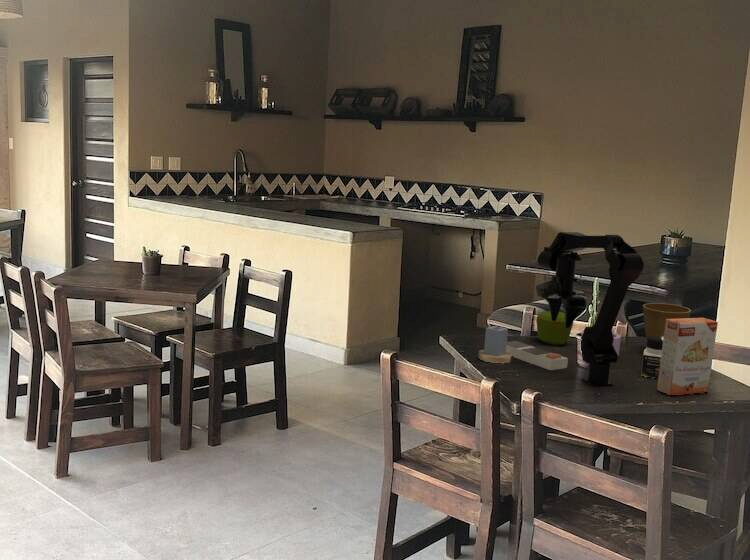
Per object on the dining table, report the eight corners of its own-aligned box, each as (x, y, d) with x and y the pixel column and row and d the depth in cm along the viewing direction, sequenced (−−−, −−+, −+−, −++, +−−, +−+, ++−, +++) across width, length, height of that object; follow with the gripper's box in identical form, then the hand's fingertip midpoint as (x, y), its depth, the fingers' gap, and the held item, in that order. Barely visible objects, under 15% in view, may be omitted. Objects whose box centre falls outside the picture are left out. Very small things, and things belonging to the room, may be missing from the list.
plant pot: (640, 346, 278) (645, 301, 275) (686, 353, 272) (692, 306, 269) (635, 355, 264) (640, 307, 262) (683, 362, 258) (689, 314, 256)
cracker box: (671, 397, 220) (680, 323, 216) (655, 390, 225) (664, 318, 222) (709, 393, 225) (719, 321, 222) (693, 387, 231) (702, 316, 227)
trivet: (515, 364, 245) (516, 357, 245) (485, 364, 243) (485, 358, 242) (503, 355, 255) (503, 349, 254) (473, 355, 252) (474, 349, 252)
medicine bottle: (640, 376, 239) (645, 337, 237) (641, 371, 245) (646, 332, 243) (666, 380, 236) (670, 340, 234) (666, 374, 243) (671, 336, 241)
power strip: (566, 367, 244) (568, 355, 243) (550, 370, 240) (551, 358, 240) (516, 350, 262) (517, 338, 262) (500, 352, 258) (501, 340, 258)
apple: (538, 336, 284) (541, 305, 282) (573, 341, 279) (576, 309, 277) (531, 343, 272) (534, 311, 270) (567, 349, 268) (570, 316, 266)
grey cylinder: (505, 353, 249) (508, 328, 248) (498, 356, 245) (500, 330, 244) (491, 350, 252) (493, 325, 250) (483, 353, 248) (485, 328, 246)
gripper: (527, 268, 248) (523, 317, 251) (554, 278, 231) (549, 331, 233) (560, 268, 251) (556, 317, 254) (589, 279, 233) (584, 331, 236)
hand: (560, 324), depth 244 cm, fingers open, 9 cm apart
